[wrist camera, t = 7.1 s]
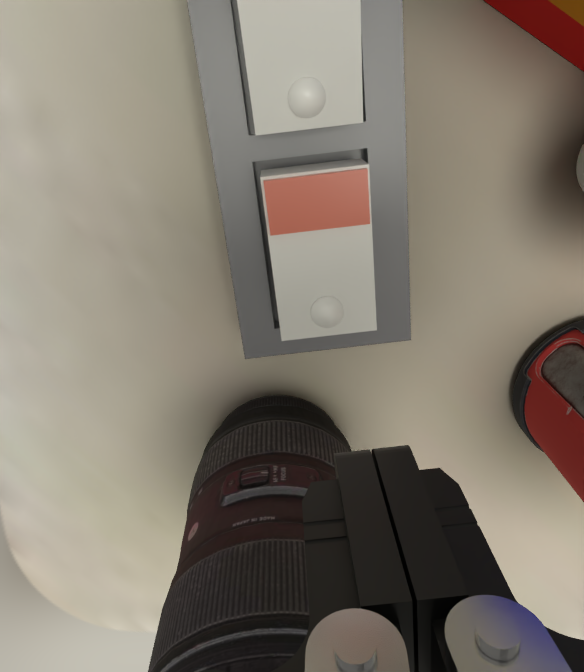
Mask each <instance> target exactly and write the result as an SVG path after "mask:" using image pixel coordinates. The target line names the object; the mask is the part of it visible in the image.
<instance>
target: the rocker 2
mask: <svg viewBox="0 0 584 672" xmlns="http://www.w3.org/2000/svg"><path fill="white" fill-rule="evenodd" d="M260 180H261V188H262V195H263V203H264V211H265V218H266V226H267V233H268V241H269V249H270V256H271V264H272V272H273V279H274V287H275V294H276V302H277V310H278V317H279V325H280V332H281V340H282V341H287V340H296V339H304V338H313V337H322V336H331V335H339V334H348V333H357V332H366V331H375V330H377V321H376V300H375V279H374V258H373V237H372V215H371V194H370V173H369V164H368V163H367V162H365V161H364V160H363V159H361V158H359V159H350V160H342V161H333V162H325V163H317V164H308V165H300V166H291V167H283V168H275V169H266V170H261V175H260Z"/></svg>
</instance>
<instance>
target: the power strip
mask: <svg viewBox="0 0 584 672" xmlns="http://www.w3.org/2000/svg"><path fill="white" fill-rule="evenodd" d="M187 4H188V10H189V16H190V22H191V28H192V35H193V41H194V47H195V53H196V59H197V65H198V72H199V78H200V84H201V90H202V96H203V102H204V109H205V115H206V121H207V127H208V133H209V139H210V145H211V152H212V158H213V164H214V170H215V176H216V182H217V189H218V195H219V201H220V207H221V213H222V219H223V226H224V232H225V238H226V244H227V250H228V256H229V263H230V269H231V275H232V281H233V287H234V293H235V300H236V306H237V312H238V318H239V324H240V330H241V337H242V343H243V349H244V355H245V359H249V358H257V357H266V356H275V355H284V354H293V353H301V352H310V351H319V350H328V349H337V348H346V347H354V346H363V345H372V344H381V343H390V342H398V341H407V340H411V323H410V283H409V242H408V202H407V161H406V121H405V80H404V39H403V0H361V46H362V94H363V123H356V124H348V125H340V126H331V127H323V128H315V129H306V130H298V131H290V132H282V133H273V134H265V135H257V136H256V134H255V127H254V120H253V113H252V105H251V98H250V91H249V84H248V76H247V69H246V62H245V55H244V47H243V40H242V33H241V26H240V19H239V11H238V4H237V0H187ZM359 158H361V159H363V160H364V161H365V162H367V163H368V164H369V173H370V194H371V215H372V237H373V258H374V279H375V300H376V321H377V330H375V331H366V332H357V333H348V334H339V335H331V336H322V337H313V338H304V339H296V340H287V341H282V340H281V332H280V325H279V317H278V310H277V302H276V294H275V287H274V279H273V272H272V264H271V256H270V249H269V241H268V233H267V226H266V218H265V211H264V203H263V195H262V188H261V180H260V175H261V170H266V169H275V168H283V167H291V166H300V165H308V164H317V163H325V162H333V161H342V160H350V159H359Z"/></svg>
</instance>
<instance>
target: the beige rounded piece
mask: <svg viewBox="0 0 584 672" xmlns="http://www.w3.org/2000/svg"><path fill="white" fill-rule="evenodd" d="M576 172H577V179H578V182H579V185H580V187H581V189H582V191H583V192H584V144H583V145H582V147H581V150H580V153H579V156H578V159H577V165H576Z"/></svg>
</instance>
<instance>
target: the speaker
mask: <svg viewBox="0 0 584 672" xmlns="http://www.w3.org/2000/svg"><path fill="white" fill-rule="evenodd" d="M513 409H514V414H515V417H516V420H517V422H518V424H519V426H520V427H521V429H522V430H523V432H524V433H525V434H526V435H527V437H528V438H529V439H530V441H531V442H532V443H533V444H534V445H535V446H536V447H537V448H539V449H540V450H541V451H543V452H545V454H546V455H547V456H548V457H549V459H550V460H551V461H552V462H553V464H554V465H555V466H556V467H557V469H558V470H559V471H560V473H561V474H562V475H563V476H564V478H565V479H566V480H567V481H568V483H569V484H570V485H571V486H572V488H573V489H574V490H575V492H576V493H577V494H578V495H579V497H580V498H581V499H582V500H583V502H584V320H581V321H578V322H574V323H572V324H569V325H567V326H565V327H563V328H561V329H559V330H558V331H556V332H555V333H553V334H552V335H550V336H549V337H548V338H546V339H545V340H544V341H543V342H542V343H541V344H540V345H538V346H537V347H536V348H535V349H534V350H533V352H532V353H531V354H530V355H529V357H528V358H527V359H526V361H525V362H524V364H523V365H522V367H521V369H520V371H519V374H518V376H517V379H516V381H515V385H514V390H513Z"/></svg>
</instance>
